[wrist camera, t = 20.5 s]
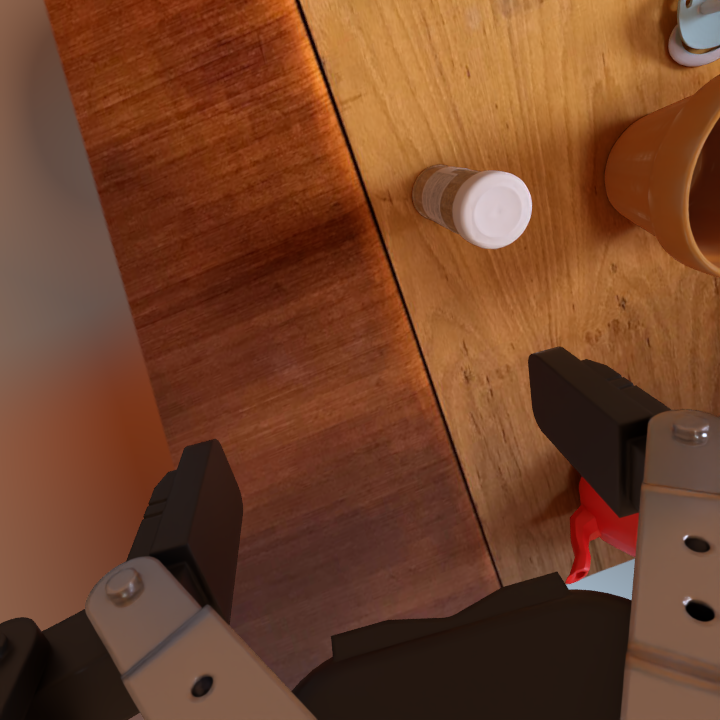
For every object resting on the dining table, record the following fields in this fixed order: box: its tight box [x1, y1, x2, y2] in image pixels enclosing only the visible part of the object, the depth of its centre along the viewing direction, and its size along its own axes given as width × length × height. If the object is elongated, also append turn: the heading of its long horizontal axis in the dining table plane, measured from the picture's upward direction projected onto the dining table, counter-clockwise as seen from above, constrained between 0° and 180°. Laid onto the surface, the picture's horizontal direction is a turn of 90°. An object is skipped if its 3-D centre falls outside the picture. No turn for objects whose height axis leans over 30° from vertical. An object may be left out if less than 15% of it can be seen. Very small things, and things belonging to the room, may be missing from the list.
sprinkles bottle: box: [412, 165, 532, 249], centre depth 36 cm, size 5×4×13 cm
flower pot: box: [605, 74, 720, 278], centre depth 37 cm, size 14×14×13 cm
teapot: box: [565, 477, 639, 584], centre depth 51 cm, size 25×16×12 cm, turn 117°
